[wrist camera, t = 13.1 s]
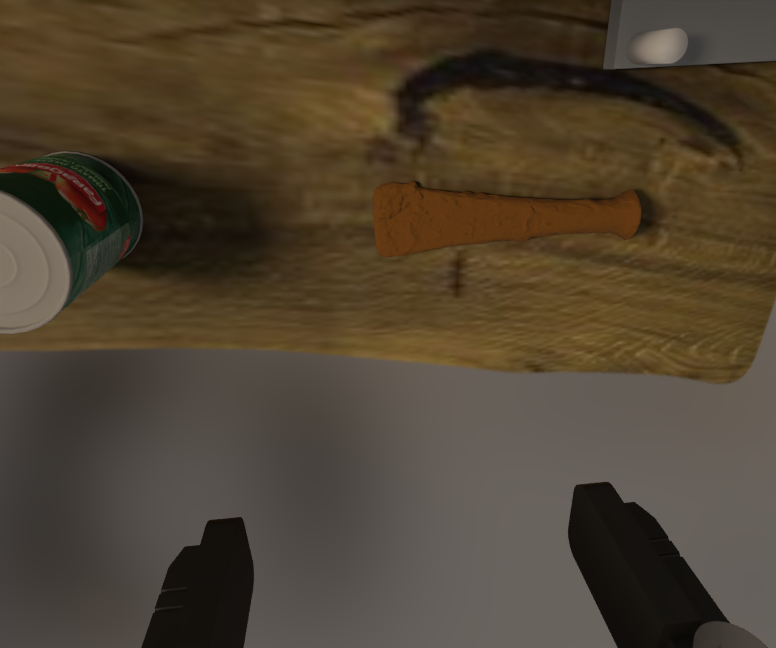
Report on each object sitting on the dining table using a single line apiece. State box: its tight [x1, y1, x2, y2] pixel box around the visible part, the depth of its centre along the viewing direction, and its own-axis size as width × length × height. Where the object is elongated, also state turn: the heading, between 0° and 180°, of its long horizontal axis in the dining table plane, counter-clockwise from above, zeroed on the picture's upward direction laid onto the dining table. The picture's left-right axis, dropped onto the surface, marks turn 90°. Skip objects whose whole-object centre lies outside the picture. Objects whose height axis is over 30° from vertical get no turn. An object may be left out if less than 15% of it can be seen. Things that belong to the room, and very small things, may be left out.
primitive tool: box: [373, 181, 642, 257], centre depth 37 cm, size 19×6×4 cm, turn 94°
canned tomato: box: [0, 151, 143, 334], centre depth 31 cm, size 8×8×11 cm
